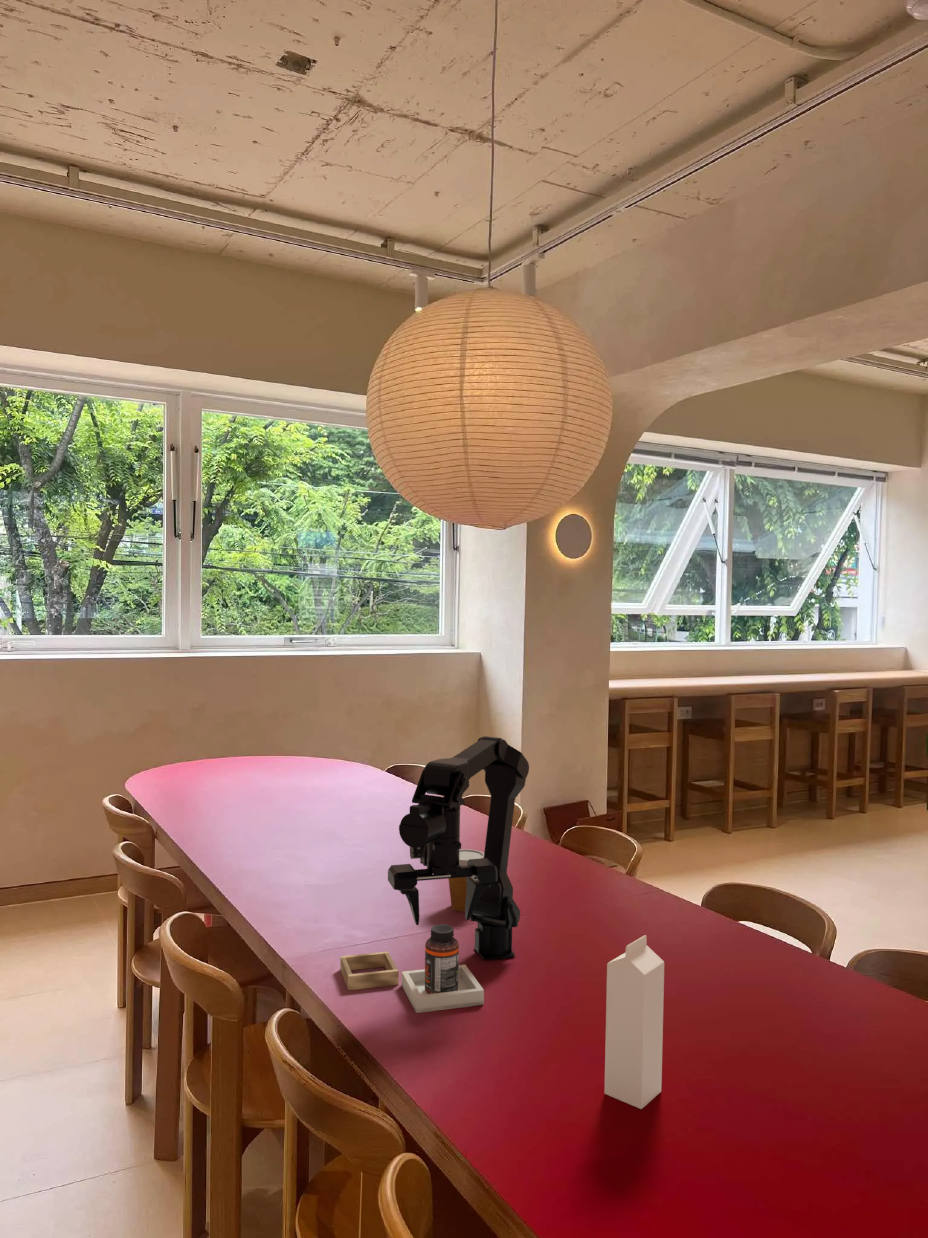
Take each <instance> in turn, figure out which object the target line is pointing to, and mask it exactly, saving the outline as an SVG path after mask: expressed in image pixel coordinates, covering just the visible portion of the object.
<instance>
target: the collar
mask: <svg viewBox="0 0 928 1238" xmlns="http://www.w3.org/2000/svg"><path fill="white" fill-rule="evenodd" d="M339 958H340V959H339V962H340V964H339V967H340V968H339V970H340V972H341V975H342V977H343V980H344V982H345V986H346V988H347V990H348V991H354V990H355V991H356V990H365V989H373V988H379V987H381V988H383V987H391V986H398V985H399V984H400V983H399V976H400V975H399V973H400V971H399V968H398V967H397V965H396V963H395V961H394V960H393V958H392V956H391V954H390V952H389V951H380V952H370V953H369V952H368V953H360V954H351V955H341V956H340V957H339ZM383 967H384V968H385V970H378V971H371V972H370V971H369V972H359V973H352V971H356V970H363V969H364V970H365V969H374V968H383Z"/></svg>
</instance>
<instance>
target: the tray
mask: <svg viewBox="0 0 928 1238" xmlns="http://www.w3.org/2000/svg"><path fill="white" fill-rule="evenodd" d="M401 987H402V989H403V990H404V993H405V995H406V996H407V999H408V1000H409V1002H410V1004H411V1006H412V1008H413V1010H414V1012H415V1013H416V1014H418V1013H428V1012H435V1011H436V1012H438V1011H442V1010H445V1011H446V1010H450V1009H452V1010H453V1009H458V1008H459V1009H460V1008H468V1007H473V1006H475V1007H476V1006H483V1005H485V989H484V988H483V987H482V985H481V984H480V983H479V982H478V980H477V978H476V977H475V976H474V974H473V973H472V972H471V970H470V969H469V968H468V966H467V965H466V964H459V969H458V990H457V991H451V992H443V993H435V994H428V993H427V992H426V991H425V968H424V969H415V970H406V971H404V970H403V971H401Z"/></svg>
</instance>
